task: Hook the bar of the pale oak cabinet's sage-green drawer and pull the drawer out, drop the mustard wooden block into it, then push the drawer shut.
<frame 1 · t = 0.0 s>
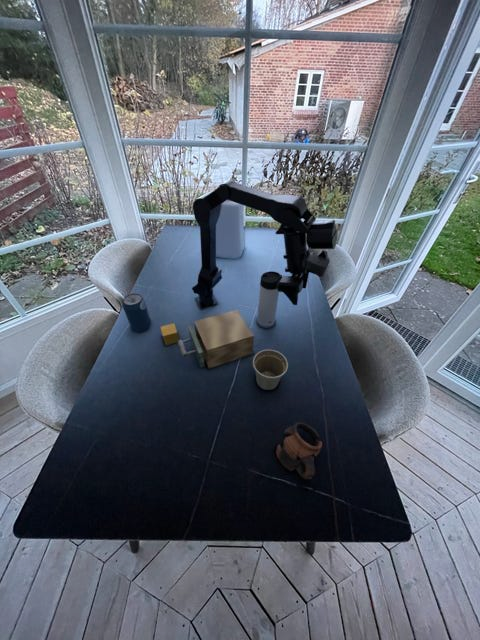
hand: (299, 296, 81), 15 cm above the table, tool pointing down, fingers open, 9 cm apart
drawer: (208, 342, 81), point 4 cm above the table, slide at 1.0 cm
travel mug: (265, 322, 95), on the table
pottery mug: (297, 456, 62), on the table
plastic bottle: (227, 251, 131), on the table
block: (170, 338, 88), on the table
flower pot: (267, 381, 77), on the table
cabinet: (223, 346, 86), on the table
soda can: (141, 326, 92), on the table
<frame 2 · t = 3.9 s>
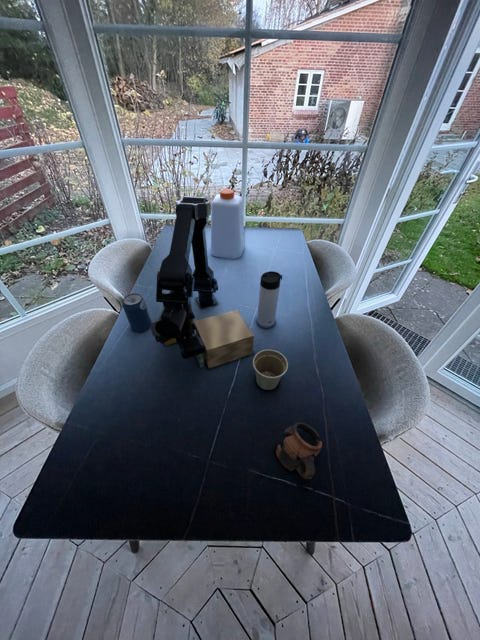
hand: (188, 348, 79), 4 cm above the table, tool pointing down, fingers closed, pressing on drawer
drawer: (208, 342, 81), point 4 cm above the table, slide at 1.1 cm, touching gripper
everything else where it was.
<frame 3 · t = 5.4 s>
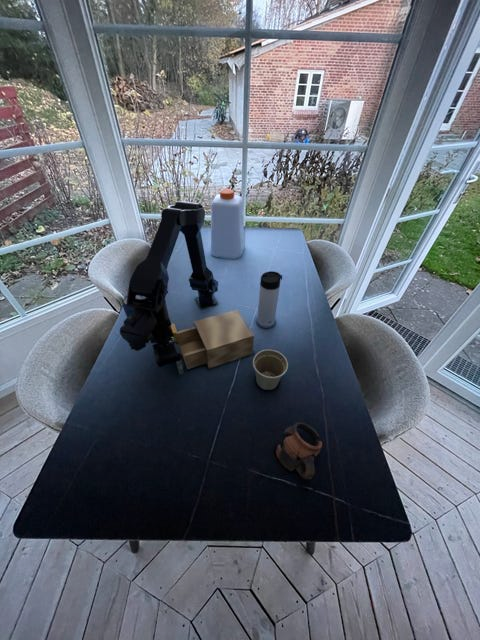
hand: (167, 355, 78), 4 cm above the table, tool pointing down, fingers closed, pressing on drawer
drawer: (188, 348, 79), point 4 cm above the table, slide at 7.4 cm, touching gripper
everything else where it was.
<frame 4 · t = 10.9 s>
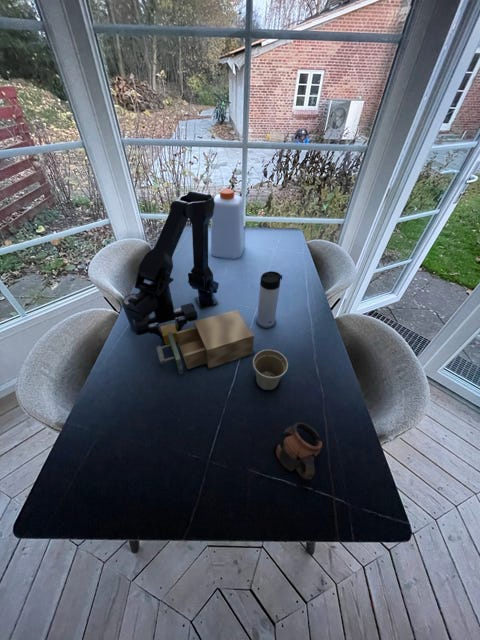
hand: (170, 336, 87), 1 cm above the table, tool pointing down, fingers closed on block, 4 cm apart
drawer: (188, 348, 79), point 4 cm above the table, slide at 7.4 cm
block: (170, 338, 88), on the table, touching gripper
everything else where it was.
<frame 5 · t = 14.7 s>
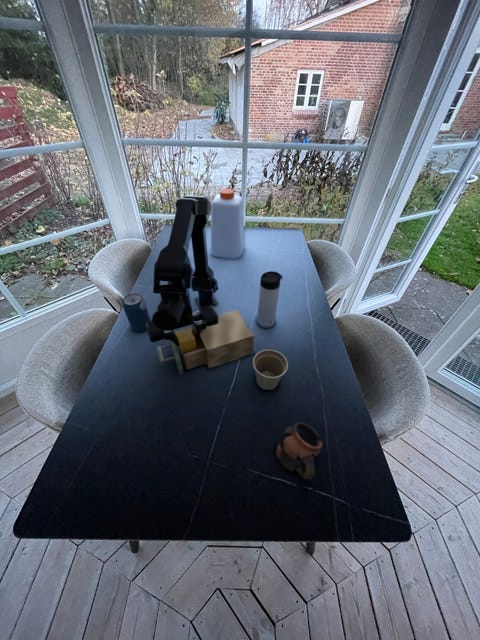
hand: (186, 343, 78), 7 cm above the table, tool pointing down, fingers closed on block, 4 cm apart
block: (187, 345, 78), point 6 cm above the table, touching gripper
everything else where it was.
when the fingers open (9 cm above the table, at t = 25.4 s): block drops 6 cm, resting on drawer.
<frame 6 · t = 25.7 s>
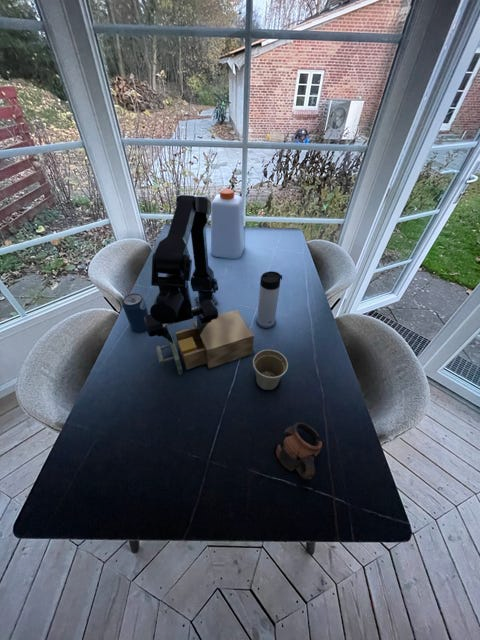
hand: (185, 338, 76), 9 cm above the table, tool pointing down, fingers open, 7 cm apart
drawer: (187, 348, 79), point 4 cm above the table, slide at 7.6 cm, touching block
block: (188, 353, 81), point 2 cm above the table, touching drawer
everything else where it was.
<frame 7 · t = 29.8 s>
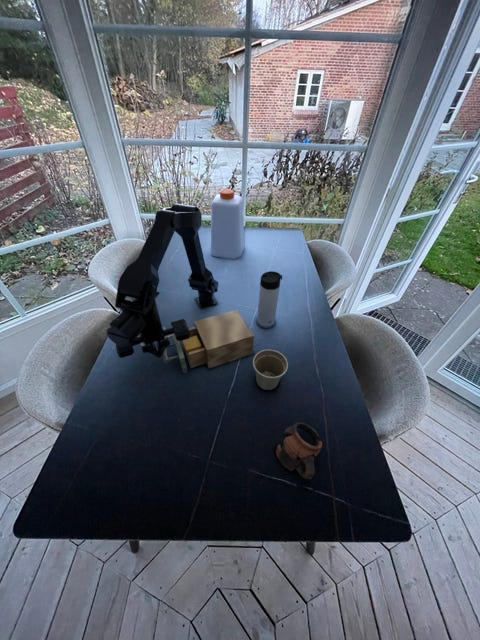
hand: (159, 356, 77), 4 cm above the table, tool pointing down, fingers closed
drawer: (192, 347, 80), point 4 cm above the table, slide at 6.3 cm, touching block, gripper
block: (193, 352, 81), point 2 cm above the table, touching drawer
everything else where it was.
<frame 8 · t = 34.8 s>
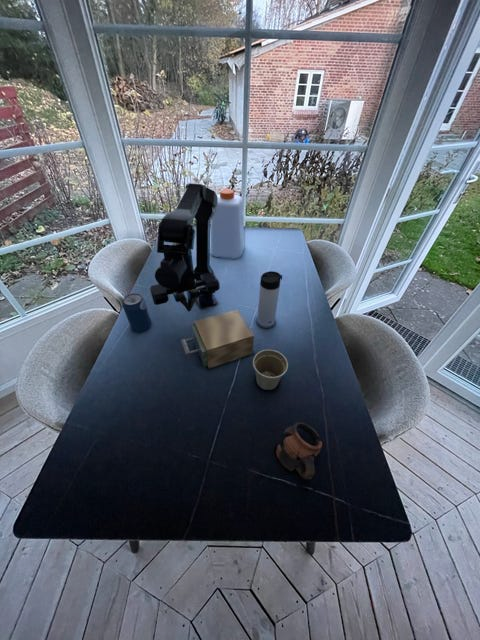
hand: (188, 310, 80), 12 cm above the table, tool pointing down, fingers closed
drawer: (211, 341, 82), point 4 cm above the table, slide at 0.0 cm, touching block, cabinet
block: (212, 346, 83), point 2 cm above the table, touching drawer
everything else where it was.
at the end: drawer pulled out 7.6 cm at the most during the clip, back to where it started at the end; block inside the target area in the cabinet (2.6 cm from its centre), point 2.0 cm above the cabinet's base; drawer slide at 0.0 cm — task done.
